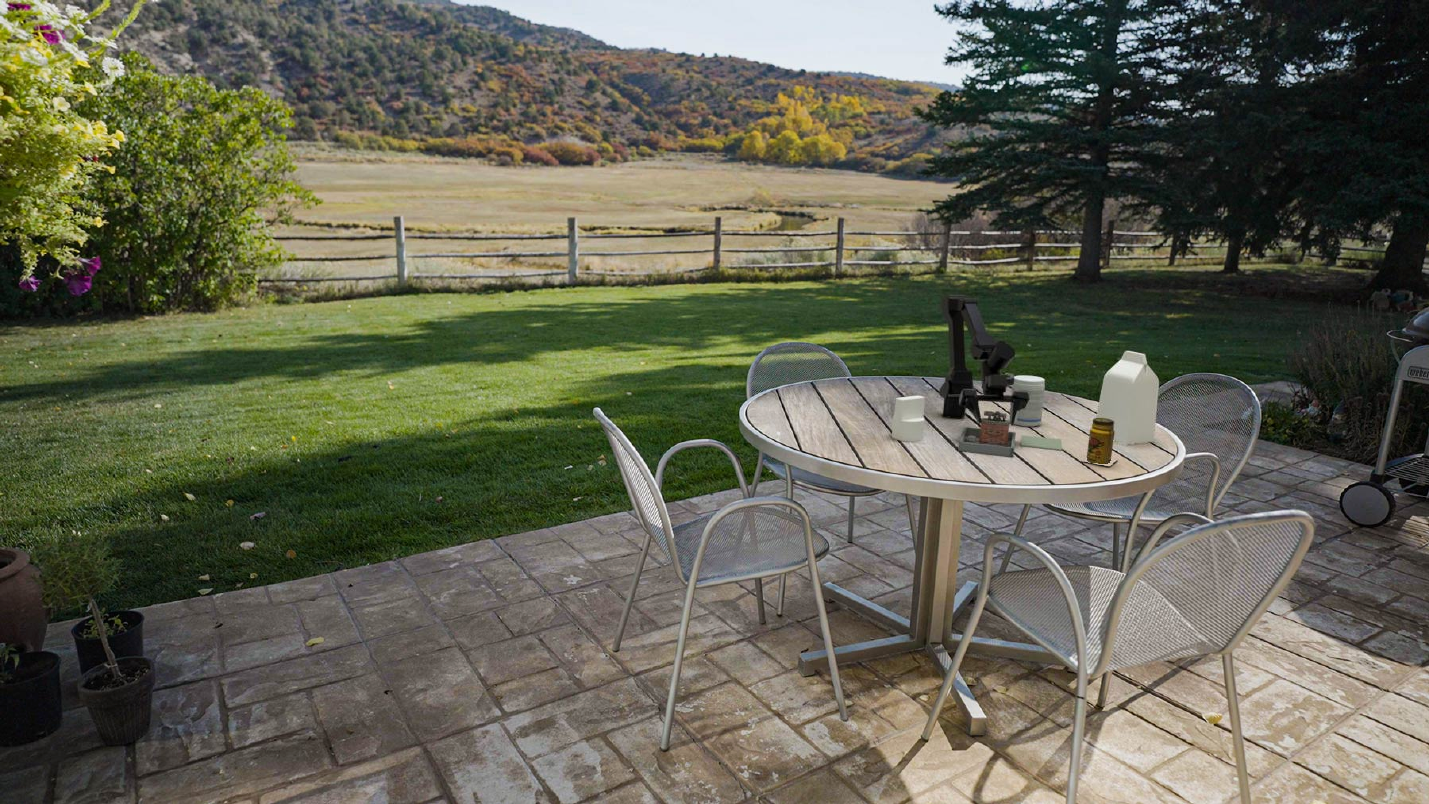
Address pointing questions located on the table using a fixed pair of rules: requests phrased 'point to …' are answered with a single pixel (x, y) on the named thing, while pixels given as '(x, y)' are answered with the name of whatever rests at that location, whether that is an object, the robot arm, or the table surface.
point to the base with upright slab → (909, 418)
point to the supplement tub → (1030, 400)
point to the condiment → (1101, 441)
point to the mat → (1041, 442)
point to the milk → (1130, 399)
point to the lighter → (994, 429)
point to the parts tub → (984, 447)
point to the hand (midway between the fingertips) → (996, 424)
